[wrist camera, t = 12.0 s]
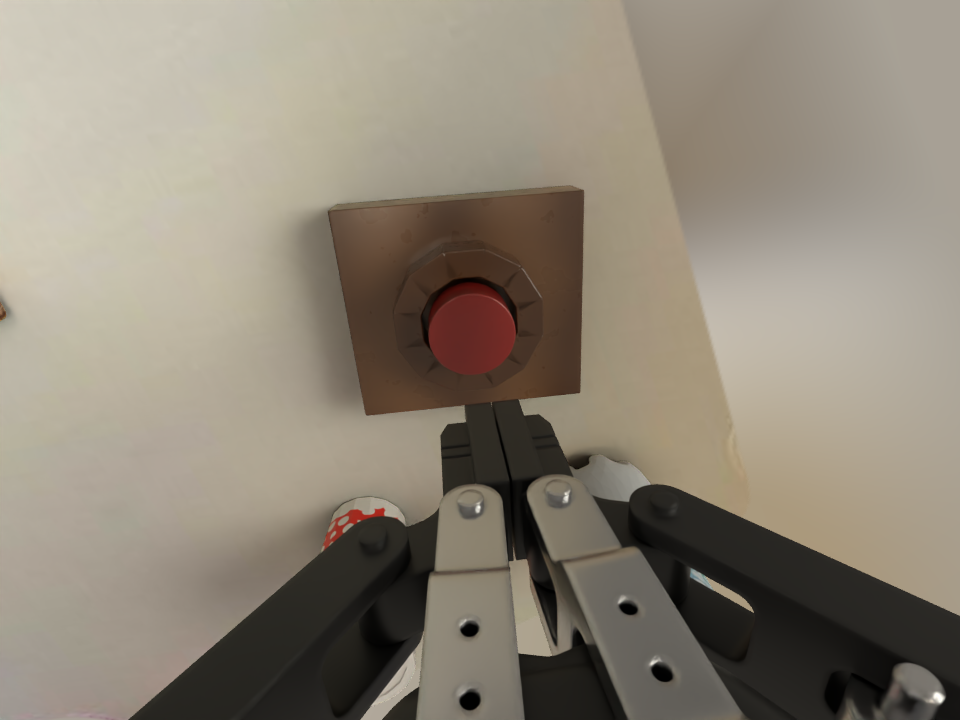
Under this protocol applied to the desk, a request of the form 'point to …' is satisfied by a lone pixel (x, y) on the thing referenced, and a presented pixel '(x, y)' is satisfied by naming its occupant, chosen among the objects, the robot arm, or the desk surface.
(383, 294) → the button box
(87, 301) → the desk surface
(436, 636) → the robot arm
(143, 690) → the desk surface
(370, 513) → the beverage cup
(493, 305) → the button
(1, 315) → the figurine
